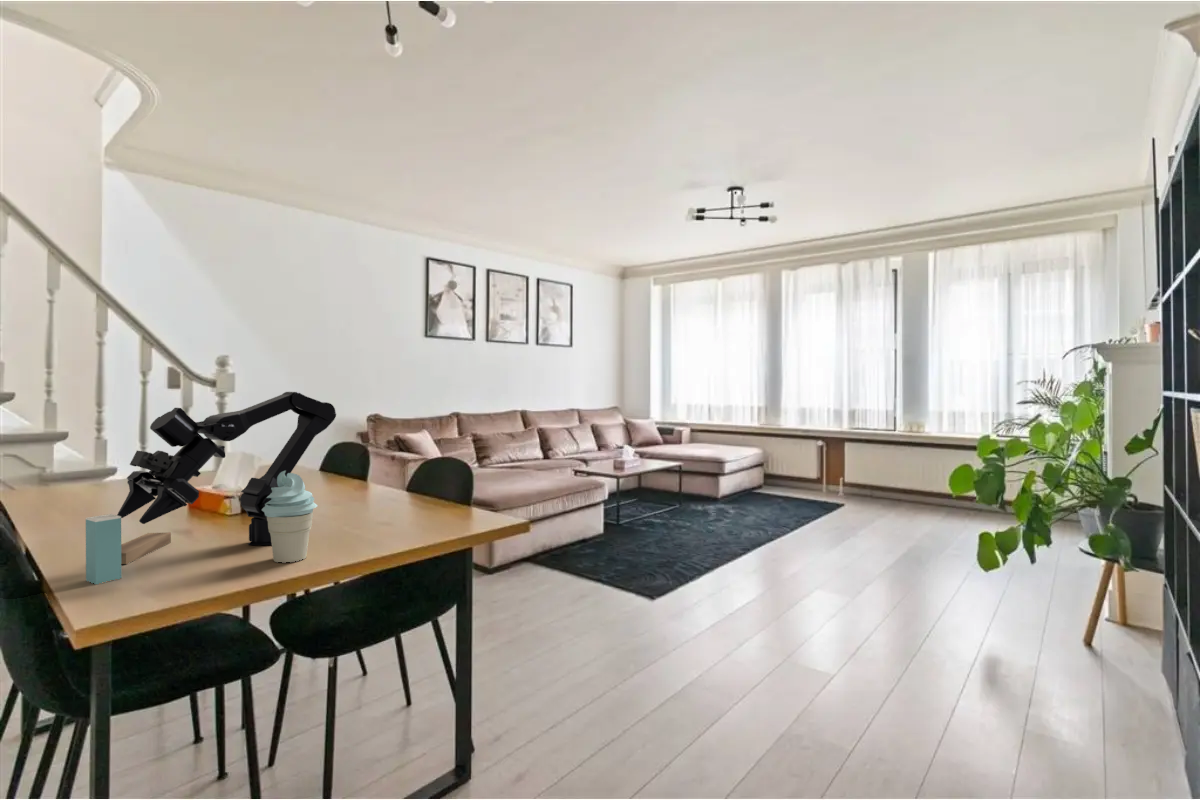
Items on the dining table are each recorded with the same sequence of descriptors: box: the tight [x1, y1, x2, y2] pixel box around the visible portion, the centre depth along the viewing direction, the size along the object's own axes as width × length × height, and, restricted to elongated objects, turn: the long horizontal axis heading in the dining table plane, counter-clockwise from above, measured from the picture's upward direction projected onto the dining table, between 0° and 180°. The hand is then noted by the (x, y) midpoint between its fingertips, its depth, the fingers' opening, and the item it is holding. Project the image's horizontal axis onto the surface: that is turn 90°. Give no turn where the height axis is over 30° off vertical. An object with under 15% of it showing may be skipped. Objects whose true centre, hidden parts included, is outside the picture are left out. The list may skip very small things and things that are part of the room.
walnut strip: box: [121, 532, 172, 565], centre depth 138 cm, size 5×18×2 cm, turn 10°
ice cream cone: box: [262, 471, 318, 564], centre depth 136 cm, size 10×11×20 cm
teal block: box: [85, 513, 122, 585], centre depth 120 cm, size 4×4×12 cm
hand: (129, 519), depth 124 cm, fingers open, 9 cm apart
